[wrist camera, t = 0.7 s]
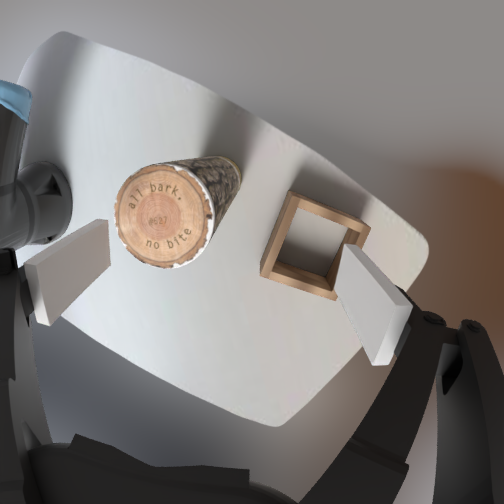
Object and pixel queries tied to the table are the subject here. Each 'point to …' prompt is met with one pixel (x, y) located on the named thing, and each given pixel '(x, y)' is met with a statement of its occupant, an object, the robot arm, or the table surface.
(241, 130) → the table surface
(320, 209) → the holder
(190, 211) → the paper tube
